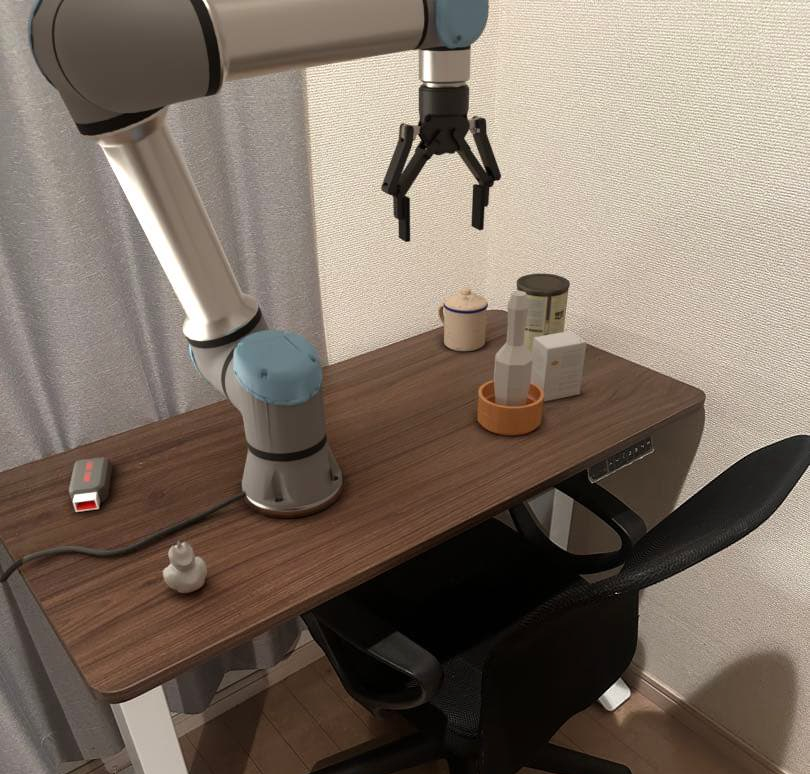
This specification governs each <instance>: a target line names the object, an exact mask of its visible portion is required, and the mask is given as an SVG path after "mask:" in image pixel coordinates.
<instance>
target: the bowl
mask: <svg viewBox="0 0 810 774" xmlns="http://www.w3.org/2000/svg"><path fill="white" fill-rule="evenodd" d="M544 396H545V394H544V391H543V389H542V388H540V387H539V386H538V385H536V384H534V383H532V382H530V387H529V392H528V396H527V400H526V405H525V406H519V407H509V406H502V405H498V404H495V388H494V379H492V380H490V381H489V380H488V381H486V382H484V383H483V384H482V385H480V386H479V388H478V390H477V404H476V405H477V407H476V420H477V422H478V423H479V424H480V425H481V426H482V427H483V428H484V429H485V430H486V431H489V432H491V433H494V434H496V435H500V436H501V435H502V436H521V435H525V434H528V433H531V432H533V431H534V430H536V429H537V428H538V427H539V426H541V423H542V420H543V415H544V413H543V412H544V403H545V402H544Z"/></svg>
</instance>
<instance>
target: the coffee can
mask: <svg viewBox="0 0 810 774" xmlns="http://www.w3.org/2000/svg"><path fill="white" fill-rule="evenodd" d="M570 286H571V282H570V280H569V279H568V278H565V277H564V276H561V275H557V274H553V273H531V274H526V275H522V276H520V277H519V278H518V279H516V291H523V292H526V296H527V301H528V306H529V308H528V314H527V319H526V325H525V335H524V344H525V345H526V347H527V348H528V350H529V351H530V353H531V355H532V348H533V338H534V337H539V336H544V335H550V334H555V333H561V332H565V323H566V313H567V305H568V296H569V289H570Z"/></svg>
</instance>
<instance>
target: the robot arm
mask: <svg viewBox="0 0 810 774" xmlns="http://www.w3.org/2000/svg"><path fill="white" fill-rule="evenodd" d="M489 10H490V5H489V0H35V1H34V2H33V4H32V6H31V9H30V12H29V15H28V21H27V41H28V47H29V50H30V52H31V55H32V58H33V60H34V62H35V64H36V67H37V69H38V70H39V72H40V74H41V75H42V76H43V77H44V78H45V80H46V81H47V82H48V83H49V84H50V85H51V86H52V87H53V88H54V89H55V90H57V91H58V94H59V95H60V98H61V99H62V101H63V103H64V105H65V107H66V109H67V111H68V113H69V115H70V117H71V119H72V121H73V122H74V124H75V126H76V128H77V130H78V132H79V134H80V136H81V137H82V138H84V139H86V140H88V141H90V142H93V143H95V144H97V145H99V146H100V147H101V149H102V151H103V153H104V155H105V158H106V159H107V161H108V163H109V165H110V167H111V169H112V171H113V173H114V174H115V177H116V179H117V180H118V183H119V184H120V187H121V188H122V190H123V193H124V195H125V197H126V199H127V201H128V202H129V204H130V206H131V208H132V210H133V212H134V215H135V216H136V218H137V220H138V222H139V224H140V227H141V228H142V230H143V232H144V234H145V236H146V238H147V240H148V242H149V244H150V246H151V248H152V250H153V252H154V254H155V256H156V258H157V259H158V262H159V264H160V266H161V268H162V269H163V272H164V273H165V275H166V277H167V279H168V281H169V283H170V285H171V287H172V289H173V291H174V294H175V295H176V297H177V299H178V301H179V303H180V305H181V307H182V309H183V311H184V313H185V315H186V316H185V319H184V322H183V323H182V332H183V335H184V337H185V338H186V340H187V343H188V349H189V355H190V358H191V362H192V363H193V365H194V367H195V369H196V371H197V372H198V374H199V375H200V377H201V378H202V379H203V380H204V381H205V382H206V383H208V384H209V385H210V386H211V387H213V388H215V389H216V390H217V391H218V392H219V393H220V394H221V395H222V396H224V397H225V399H226V400H227V401H229V402H230V403H231V404H232V405H233V406H234V408H236V409H237V410H238V411H239V412H240V414H241V416H242V420H243V421H242V422H243V426H244V433H245V439H246V444H247V454H246V460H245V463H244V469H243V475H242V478H241V492H240V493H237V494H235V495H233V496H231V497H229V498H228V499H225V500H223V501H222V502H221V501H220V502H219V503H217V504H215V505H214V506H211V507H210V508H207V509H205V510H203V511H202V512H200V513H198V514H195V515H193V516H190V517H189V518H187V519H184V520H182V521H180V522H178V523H175V524H173V525H170V526H168V527H166V528H164V529H162V530H159V531H156V532H155V533H152V534H151V535H148V536H147V537H145V538H143V539H141V540H139V541H137V542H135V543H133V544H131V545H128V546H125V547H121V548H117V549H107V550H103V549H96V548H91V547H85V546H80V545H65V546H59V547H58V546H57V547H54V548H49V549H45V550H41V551H40V550H39V551H37V552H34V553H31V554H28V555H26V556H24V557H22V558H20V559H18V560H16V561H15V562H14V563H13V564H11V565H10V566H9V567H8V568H7V569H6V570H5V571H4V572H3V574H2V575H1V577H0V584H2V583H5V582H6V581H8V579H9V578H10V577H11V576H12V575H13V574H14V572H15V571H17V570H18V569H19V568H21V567H22V566H23V565H25V564H27V563H29V562H32V561H34V560H36V559H40V558H43V557H48V556H51V555H56V554H62V553H67V552H73V553H74V552H76V553H82V554H87V555H92V556H98V557H112V556H119V555H123V554H124V555H125V554H127V553H130V552H133V551H135V550H137V549H140V548H142V547H144V546H146V545H147V544H149V543H151V542H154V541H155V540H157V539H159V538H161V537H164V536H166V535H169V534H171V533H174V532H175V531H177V530H180V529H182V528H184V527H186V526H188V525H190V524H193V523H195V522H197V521H200V520H201V519H203V518H206V517H208V516H209V515H211V514H214V513H216V512H218V511H220V510H221V509H224V508H225V507H227V506H229V505H231V504H233V503H236V502H238V501H239V500H241V499H243V500H244V502H245V504H246V505H247V506H248V507H249V508H250V509H251V510H253V511H255V512H256V513H258V514H261V515H264V516H268V517H271V518H279V519H281V518H282V519H291V518H292V519H293V518H294V519H295V518H301V517H306V516H310V515H311V516H312V515H313V514H316V513H317V514H318V513H319V512H321V511H324V510H326V509H328V508H329V507H330V506H331V505H333V504H334V503H336V502H337V500H338V499H339V498H340V497H341V495H342V493H343V490H344V489H343V488H344V483H343V474H342V470H341V468H340V466H339V464H338V462H337V460H336V458H335V456H334V454H333V451H332V449H331V447H330V445H329V442H328V438H327V426H326V425H327V424H326V411H325V400H324V389H323V380H324V379H323V375H324V374H323V368H322V365H321V362H320V355H319V353H318V350H317V348H316V347H315V346H314V344H313V343H312V342H311V341H310V340H309V339H307V338H306V337H304V336H303V335H301V334H298V333H295V332H286V331H285V330H282V329H281V330H280V329H270V328H269V326H268V324H267V321H266V319H265V316H264V314H263V313H262V310H261V308H260V306H259V302H258V301H257V299H256V298H255V297H254V296H252V295H250V294H248V293H246V292H242V289H241V287H240V285H239V283H238V280H237V278H236V276H235V274H234V271H233V269H232V266H231V264H230V262H229V260H228V257H227V255H226V252H225V251H224V248H223V246H222V244H221V241H220V239H219V236H218V235H217V232H216V229H215V227H214V224H213V223H212V221H211V219H210V216H209V213H208V210H207V208H206V207H205V205H204V202H203V200H202V198H201V195H200V193H199V191H198V188H197V186H196V184H195V181H194V180H193V177H192V174H191V172H190V169H189V168H188V166H187V163H186V160H185V159H184V157H183V154H182V151H181V150H180V147H179V145H178V142H177V140H176V137H175V136H174V133H173V131H172V128H171V126H170V124H169V122H168V115H169V113H170V109H171V106H172V105H174V104H178V103H182V102H187V101H192V100H196V99H200V98H204V97H205V98H206V97H211V96H217V95H218V94H219V93H220V92H221V90H222V88H223V86H224V84H225V83H227V82H228V83H229V82H234V81H239V80H245V79H250V78H256V77H262V76H268V75H274V74H281V73H285V72H290V71H291V72H292V71H297V70H302V69H303V70H304V69H308V68H309V69H310V68H314V67H320V66H326V65H327V66H328V65H332V64H333V65H334V64H339V63H343V62H345V63H346V62H350V61H355V60H361V59H367V58H373V57H379V56H385V55H391V54H395V53H402V52H407V51H408V52H409V51H418V81H420V82H422V84H420V85H419V87H418V116H419V120H418V122H417V125H416V124H408V123H405V122H402V123H400V125H399V127H398V128H399V130H398V140H397V143H396V145H395V146H396V147H395V148H394V151H393V153H392V156H391V159H390V161H389V165H388V167H387V170H386V173H385V175H384V178H383V181H382V184H381V187H380V189H381V191H382V192H383V193H384V194H387V195H388V196H392V207H393V212H392V213H393V217H394V218H395V219H396V220H397V221H398V225H397V226H398V239H400V240H402V241H403V242H405V243H409V242H411V198H410V197H409V196H407V194H408V192H409V191H410V189H411V187H412V185H413V184H414V183H415V181H416V179H417V178H418V176H419V175H420V173H421V171H422V170H423V168H424V167H425V165H426V164H427V162H428V161H430V160H431V159H432V157H433V156H434V155H435V156H442V155H445V154H450V155H452V154H456V153H457V154H458V156H459V157H460V158H461V161H463V163H464V165H465V166H466V167H467V169H468V170H469V171H470V173H471V175H472V176H473V177H474V179H475V181H477V183H474V184H472V200H471V201H472V202H471V223H470V224H471V225H470V226H471V227H472V228H474V229H476V230H478V231H484V228H485V227H484V225H485V210H486V209H485V208H486V207H488V206H489V204H490V188H492V187H494V185H495V182H498V181H500V180H501V178H502V174H501V171H500V167H499V165H498V161H497V159H496V157H495V154H494V150H493V148H492V144H491V142H490V139H489V136H488V133H487V131H488V130H487V120H486V118H484V117H482V116H479V115H474V116H472V118H471V119H470V118H469V119H468V113H469V109H470V86H469V84H467V82H469V80H470V79H471V55H472V54H471V53H472V48H471V47H472V45H474V43H476V42H477V41H478V40H479V39H480V38H481V36H482V35H483V33H484V31H485V29H486V26H487V23H488V20H489V13H490V11H489ZM468 132H470V133H471V134H472V138H473V141H474V144H475V147H476V150H477V152H478V154H479V157H480V160H481V163H482V164H481V163H480V161H479V159H478V158H477V157H476V155H475V154H474V152H473V150H472V147H471V146H470V145H469V143H468V142H467V140H466V136H467V134H468ZM417 136H418V137H419V139H420V141H419V143H418V144H417V146H416V147H415V149H414V154H413V155H412V157H411V158H410V160H409V161H408V158H409V155H410V153H411V150H412V147H413V144H414V141H415V140H417ZM407 161H408V163H407ZM406 163H407V165H406ZM482 165H483V166H482Z"/></svg>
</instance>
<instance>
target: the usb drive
mask: <svg viewBox="0 0 810 774" xmlns="http://www.w3.org/2000/svg"><path fill="white" fill-rule="evenodd" d="M112 472H113V466H112V463H111V460H110V458H108V457H106V456H101V457H93V458H92V457H91V458H85V459H78V460H76V462H74V465H73V468H72V473H71V478H70V482H69V487H68V493H69V497H70V500H71V502H72V505H73V507H74V511H75V512H76V513H79V512H85V511H86V512H87V511H94V510H100V505H101V503H104V502H105V501H106V500H107V499H108V498H109V492H110V485H111V480H112V479H111V478H112Z"/></svg>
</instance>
